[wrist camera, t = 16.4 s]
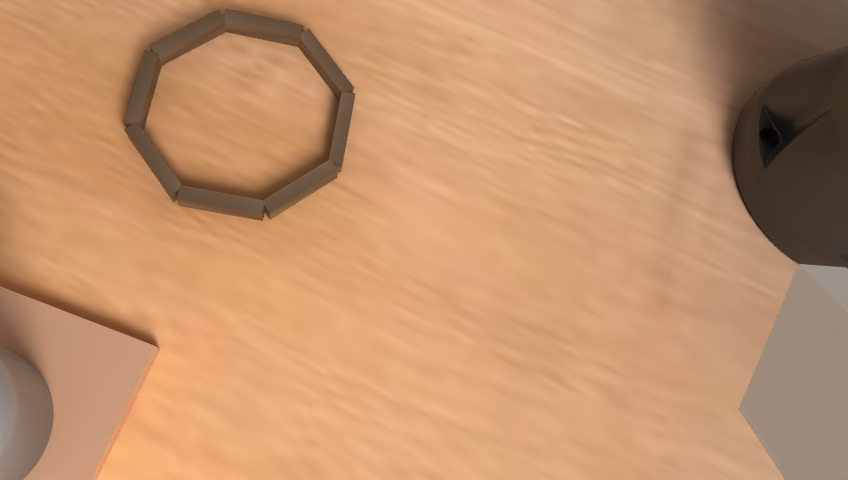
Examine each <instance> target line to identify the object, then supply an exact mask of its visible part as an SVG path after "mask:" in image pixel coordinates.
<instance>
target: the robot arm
mask: <svg viewBox="0 0 848 480" xmlns="http://www.w3.org/2000/svg"><path fill="white" fill-rule="evenodd" d="M733 160H734V169H735V174H736V179H737V182H738V186H739V189H740V191H741V194H742V197H743V199H744V201H745V203H746V205H747V207H748V209H749V211H750V213H751V215H752V216H753V218H754V219H755V221H756V222H757V224H758V225H759V227H760V228H761V229H762V231H763V232H764V233H765V234H766V235H767V237H768V238H769V239H770V240H771V241H772V242H773V243H774V244H775V245H776V246H777V247H778V248H779V249H780V250H781V251H782V252H784V253H785V254H786V255H787V256H789V257H790V258H791V259H792V260H794V261H795V262H797V263H798V264H799V265H798V267H797V270H796V272H795V274H794V277H793V279H792V282H791V284H790V286H789V289H788V291H787V294H786V296H785V298H784V301H783V303H782V306H781V308H780V311H779V313H778V315H777V318H776V320H775V323H774V325H773V327H772V330H771V332H770V335H769V337H768V339H767V342H766V344H765V347H764V349H763V352H762V354H761V356H760V359H759V361H758V364H757V366H756V368H755V371H754V373H753V376H752V378H751V380H750V383H749V385H748V388H747V390H746V392H745V395H744V397H743V400H742V402H741V405H740V407H739V410H740V412H741V413H742V415H743V416H744V418H745V419H746V421H747V422H748V424H749V425H750V427H751V428H752V430H753V431H754V433H755V434H756V436H757V437H758V439H759V441H760V442H761V444H762V445H763V447H764V448H765V450H766V451H767V453H768V454H769V456H770V457H771V459H772V460H773V462H774V463H775V465H776V466H777V468H778V469H779V471H780V472H781V474H782V475H783V477H784V478H785V480H848V46H846V47H843V48H840V49H837V50H834V51H830V52H827V53H824V54H821V55H818V56H815V57H812V58H808V59H805V60H802V61H800V62H798V63H796V64H794V65H792V66H790V67H788V68H786V69H785V70H783V71H782V72H780V73H779V74H778V75H776V76H775V77H774V78H773V79H772V80H770V81H769V82H768V83H767V84H765V85H764V86H763V87H762V88H761V89H759V90H758V91H757V92H756V93H755V94H754V95H753V96H752V98H751V99H750V100H749V101H748V103H747V104H746V106H745V107H744V109H743V111H742V113H741V115H740V117H739V120H738V123H737V126H736V130H735V135H734V143H733Z"/></svg>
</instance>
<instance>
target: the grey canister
mask: <svg viewBox="0 0 848 480" xmlns="http://www.w3.org/2000/svg"><path fill="white" fill-rule="evenodd" d="M53 418H54V413H53V402H52V396H51V393H50V390H49V387H48V385H47V383H46V381H45V379H44V378H43V376H42V375H41V373H40V372H39V371H38V369H37V368H36V367H35V366H34V365H33V364H32V363H31V362H29V361H28V360H27V359H25V358H24V357H22V356H21V355H19V354H17V353H15V352H13V351H11V350H9V349H6V348H4V347H2V346H0V480H23V479H24V478H25V477H26V476H27V475H28V474H29V473H30V472H31V470H32V469H33V468H34V467H35V465H36V464H37V463H38V461H39V460H40V458H41V456H42V455H43V453H44V451H45V449H46V447H47V444H48V441H49V439H50V435H51V431H52V427H53Z"/></svg>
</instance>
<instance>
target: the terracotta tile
mask: <svg viewBox="0 0 848 480" xmlns="http://www.w3.org/2000/svg"><path fill="white" fill-rule="evenodd" d="M0 346H2V347H4V348H6V349H9V350H11V351H13V352H15V353H17V354H19V355H21V356H22V357H24V358H25V359H27V360H28V361H29V362H31V363H32V364H33V365H34V366H35V367H36V368H37V369H38V371H39V372H40V373H41V375H42V376H43V378H44V379H45V381H46V383H47V385H48V387H49V390H50V393H51V396H52V402H53V413H54V418H53V427H52V431H51V435H50V439H49V441H48V444H47V447H46V449H45V451H44V453H43V455H42V456H41V458H40V460H39V461H38V463H37V464H36V465H35V467H34V468H33V469H32V470H31V472H30V473H29V474H28V475H27V476H26V477H25V478H24V479H23V480H96V479H97V477H98V475H99V473H100V471H101V469H102V467H103V465H104V463H105V461H106V458H107V456H108V454H109V452H110V450H111V448H112V446H113V444H114V442H115V440H116V438H117V436H118V434H119V432H120V430H121V428H122V426H123V423H124V421H125V419H126V417H127V415H128V413H129V411H130V409H131V407H132V405H133V403H134V401H135V399H136V397H137V395H138V393H139V391H140V389H141V386H142V384H143V382H144V380H145V378H146V376H147V374H148V372H149V370H150V368H151V366H152V364H153V362H154V360H155V358H156V356H157V354H158V352H159V349H158V348H157V347H156V346H154V345H151V344H149V343H146V342H144V341H141V340H138V339H136V338H133V337H131V336H128V335H125V334H123V333H120V332H118V331H115V330H112V329H110V328H107V327H105V326H102V325H99V324H97V323H94V322H92V321H89V320H86V319H84V318H81V317H79V316H76V315H73V314H71V313H68V312H66V311H63V310H61V309H58V308H55V307H53V306H50V305H48V304H45V303H42V302H40V301H37V300H35V299H32V298H29V297H27V296H24V295H22V294H19V293H16V292H14V291H11V290H9V289H6V288H3V287H1V286H0Z"/></svg>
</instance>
